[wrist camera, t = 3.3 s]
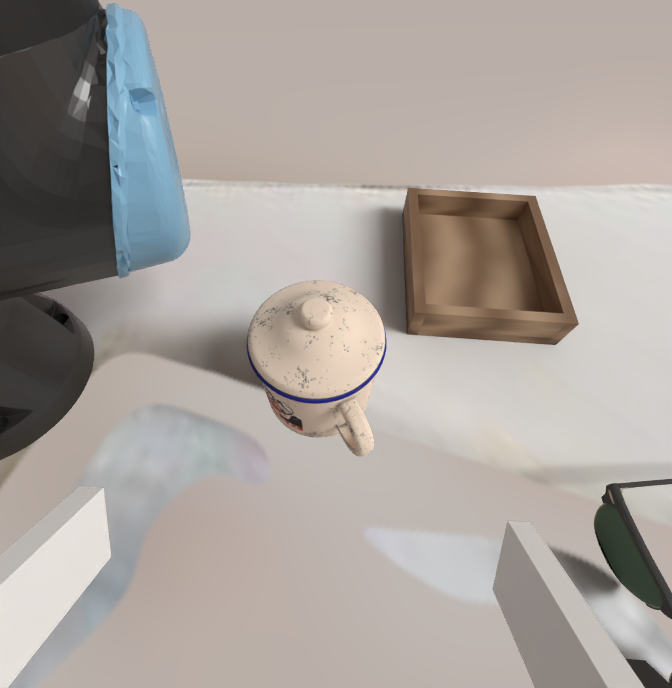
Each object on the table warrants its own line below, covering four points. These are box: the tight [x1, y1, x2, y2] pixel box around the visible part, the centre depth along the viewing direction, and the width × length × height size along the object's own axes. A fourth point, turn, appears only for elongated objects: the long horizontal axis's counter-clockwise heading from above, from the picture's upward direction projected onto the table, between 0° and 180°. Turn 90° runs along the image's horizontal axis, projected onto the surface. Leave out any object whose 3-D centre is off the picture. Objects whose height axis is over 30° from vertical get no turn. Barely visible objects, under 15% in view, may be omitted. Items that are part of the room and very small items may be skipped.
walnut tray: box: [402, 188, 579, 345], centre depth 36 cm, size 14×17×4 cm
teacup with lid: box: [247, 281, 386, 457], centre depth 25 cm, size 12×9×12 cm
